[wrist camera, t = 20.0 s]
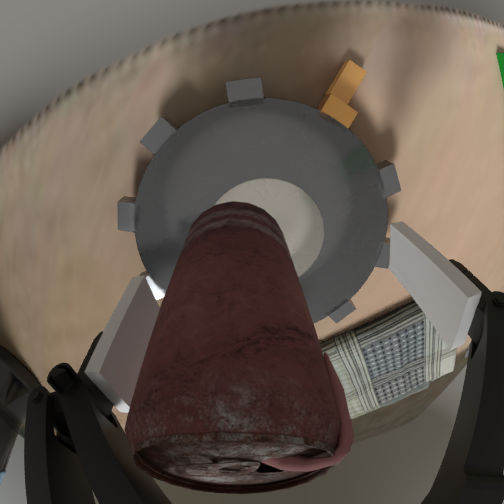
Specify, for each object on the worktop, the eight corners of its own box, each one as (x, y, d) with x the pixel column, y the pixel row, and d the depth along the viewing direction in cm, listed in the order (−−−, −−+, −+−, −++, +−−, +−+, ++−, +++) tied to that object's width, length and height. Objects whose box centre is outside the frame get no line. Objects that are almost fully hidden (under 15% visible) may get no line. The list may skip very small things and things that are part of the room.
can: (301, 258, 19) (375, 468, 6) (219, 297, 20) (207, 502, 7) (259, 178, 16) (323, 401, 4) (169, 228, 17) (74, 443, 5)
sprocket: (253, 364, 25) (255, 405, 21) (79, 224, 18) (46, 253, 14) (427, 239, 20) (459, 268, 16) (276, 25, 13) (288, -3, 8)
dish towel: (302, 343, 27) (308, 367, 24) (452, 273, 24) (469, 289, 21) (338, 414, 35) (342, 432, 32) (443, 365, 32) (452, 380, 29)
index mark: (342, 105, 16) (347, 105, 15) (324, 94, 16) (329, 93, 15) (361, 73, 15) (366, 71, 14) (344, 62, 15) (349, 59, 14)
